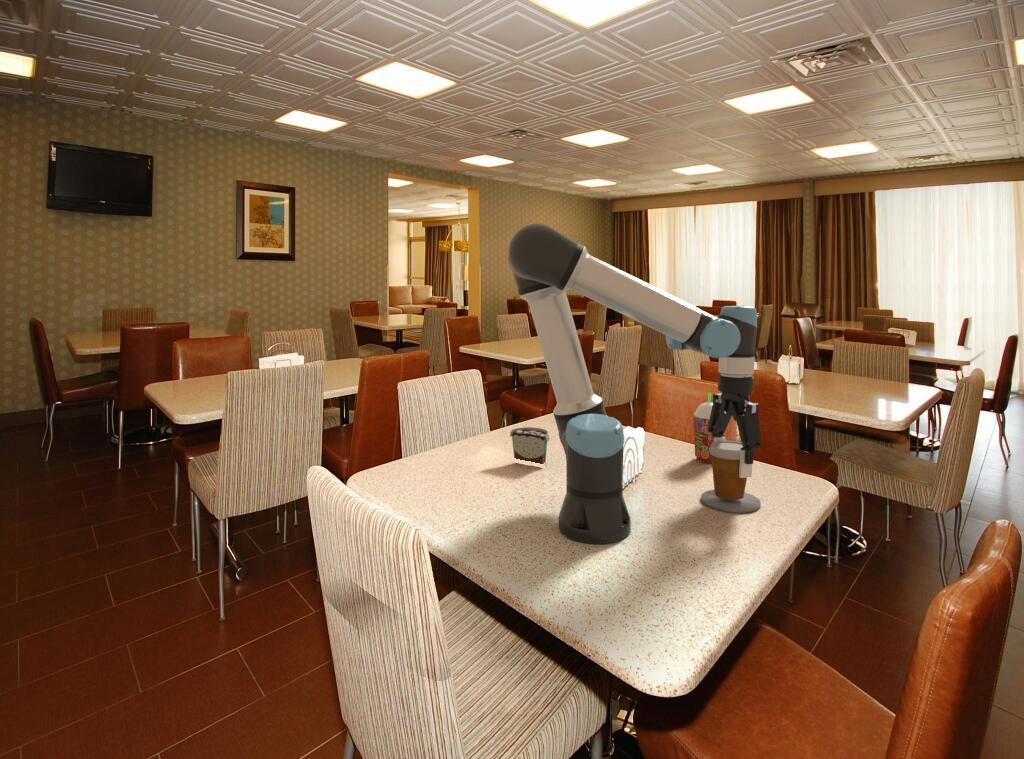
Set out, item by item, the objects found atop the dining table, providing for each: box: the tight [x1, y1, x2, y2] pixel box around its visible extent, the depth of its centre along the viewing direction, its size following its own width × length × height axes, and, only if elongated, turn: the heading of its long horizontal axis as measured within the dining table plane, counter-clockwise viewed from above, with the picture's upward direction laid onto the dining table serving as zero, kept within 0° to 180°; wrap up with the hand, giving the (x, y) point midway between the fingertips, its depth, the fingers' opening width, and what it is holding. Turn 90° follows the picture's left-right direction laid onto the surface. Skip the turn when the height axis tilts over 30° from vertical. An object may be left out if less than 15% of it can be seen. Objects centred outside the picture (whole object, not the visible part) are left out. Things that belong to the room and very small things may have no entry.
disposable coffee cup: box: [709, 440, 748, 500], centre depth 129 cm, size 10×10×12 cm
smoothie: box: [693, 392, 714, 464], centre depth 161 cm, size 8×8×20 cm
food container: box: [509, 426, 551, 464], centre depth 162 cm, size 12×6×10 cm, turn 58°
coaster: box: [700, 489, 761, 514], centre depth 131 cm, size 13×13×1 cm
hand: (731, 470), depth 130 cm, fingers closed on disposable coffee cup, 9 cm apart
